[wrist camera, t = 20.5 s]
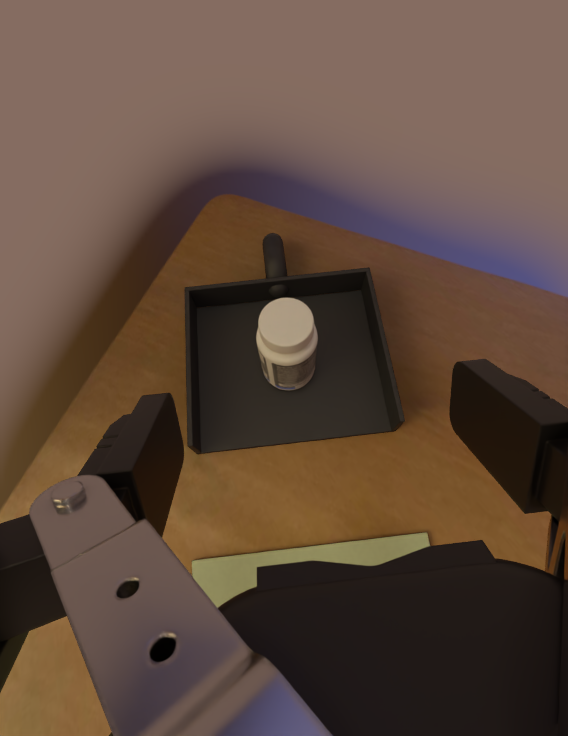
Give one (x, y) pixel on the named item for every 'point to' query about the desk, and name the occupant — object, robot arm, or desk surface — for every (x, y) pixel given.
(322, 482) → the desk surface
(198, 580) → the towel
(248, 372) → the dustpan
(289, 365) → the pill bottle
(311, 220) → the desk surface
